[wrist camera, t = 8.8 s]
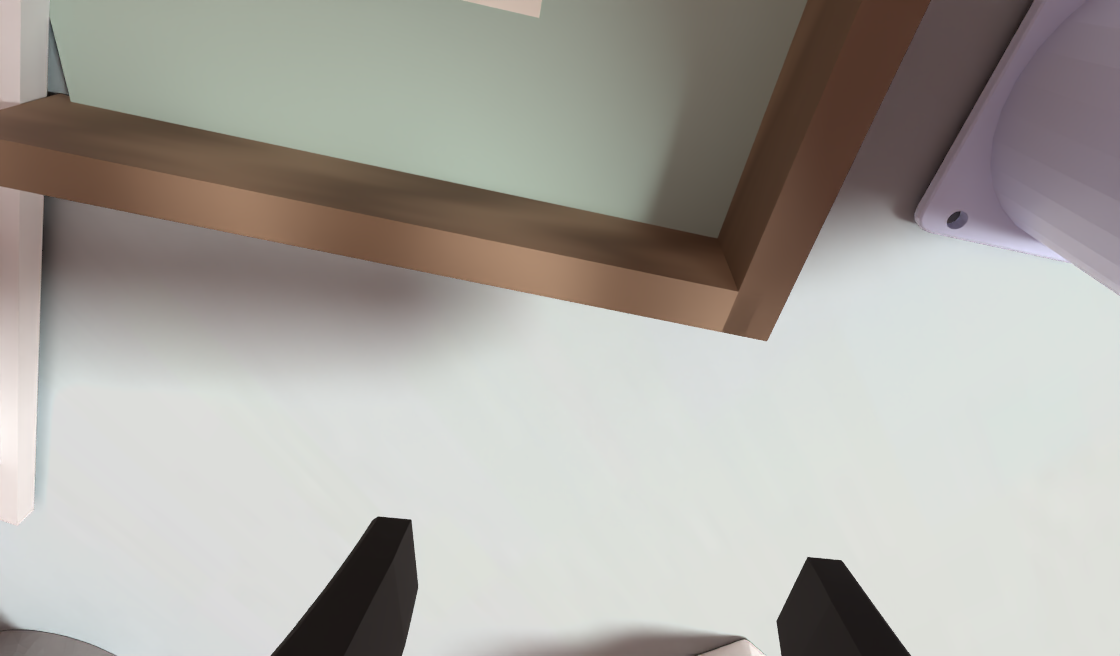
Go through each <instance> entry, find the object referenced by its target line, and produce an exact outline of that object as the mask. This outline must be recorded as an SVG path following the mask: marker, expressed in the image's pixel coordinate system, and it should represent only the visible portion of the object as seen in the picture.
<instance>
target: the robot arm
mask: <svg viewBox="0 0 1120 656" xmlns="http://www.w3.org/2000/svg"><path fill="white" fill-rule="evenodd" d="M957 211H961V213H960V216H959V217H958V218H957V220H956V221H954V222H952V223H947V220H948V218H949V217H950V216H951V214H953V213H955V212H957ZM914 216H915V221H916V223H917V224H918V225H919V226H920V227H921V228H922V229H923V230H925V231H927V232H929V233H934V234H939V235H943V236H948V237H952V238H957V239H962V240H966V241H971V242H975V243H980V244H985V245H989V246H994V247H998V248H1003V249H1008V250H1012V251H1017V252H1022V253H1026V254H1031V255H1035V256H1040V257H1045V258H1049V259H1054V260H1058V261H1063V262H1068V263H1072V264H1074V265H1075V266H1076V267H1078V268H1079V269H1081V270H1082V271H1084V272H1085V273H1087V274H1088V275H1090V276H1091V277H1093V278H1094V279H1096V280H1097V281H1099V282H1100V283H1102V284H1103V285H1105V286H1106V287H1108V288H1109V289H1111V290H1112V291H1114V292H1115V293H1116V294H1118V295H1119V296H1120V0H1034V2H1033V3H1032V5H1031V7H1030V9H1029V10H1028V12H1027V14H1026V16H1025V17H1024V19H1023V21H1022V23H1021V24H1020V26H1019V28H1018V30H1017V32H1016V33H1015V35H1014V37H1013V39H1012V40H1011V42H1010V44H1009V46H1008V47H1007V49H1006V51H1005V53H1004V55H1003V56H1002V58H1001V60H1000V62H999V63H998V65H997V67H996V69H995V70H994V72H993V74H992V76H991V77H990V79H989V81H988V83H987V85H986V86H985V88H984V90H983V92H982V93H981V95H980V97H979V99H978V100H977V102H976V104H975V106H974V108H973V109H972V111H971V113H970V115H969V116H968V118H967V120H966V122H965V123H964V125H963V127H962V129H961V130H960V132H959V134H958V136H957V138H956V139H955V141H954V143H953V145H952V146H951V148H950V150H949V152H948V153H947V155H946V157H945V159H944V160H943V162H942V164H941V166H940V168H939V169H938V171H937V173H936V175H935V176H934V178H933V180H932V182H931V183H930V185H929V187H928V189H927V191H926V192H925V194H924V196H923V198H922V199H921V201H920V203H919V205H918V206H917V208H916V211H915V214H914ZM417 590H418V580H417V570H416V560H415V551H414V541H413V531H412V521H411V520H409V519H398V518H388V517H377V518H375V519H374V520H372V522H371V524H370V525H369V527H368V528H367V530H366V531H365V533H364V534H363V536H362V537H361V539H360V540H359V542H358V543H357V544H356V546H355V547H354V549H353V550H352V552H351V553H350V555H349V556H348V557H347V559H346V560H345V562H344V563H343V564H342V566H341V567H340V568H339V570H338V571H337V573H336V574H335V575H334V577H333V578H332V579H331V581H330V582H329V583H328V585H327V586H326V587H325V589H324V590H323V591H322V593H321V594H320V595H319V596H318V598H317V599H316V600H315V602H314V603H313V604H312V605H311V607H310V608H309V609H308V611H307V612H306V613H305V614H304V616H303V617H302V618H301V619H300V621H299V622H298V623H297V625H296V626H295V627H294V628H293V630H292V631H291V632H290V633H289V634H288V636H287V637H286V638H285V639H284V641H283V642H282V643H281V644H280V645H279V646H278V648H277V649H276V650H275V651H274V652H273V653H272V655H271V656H402V653H403V650H404V647H405V643H406V639H407V635H408V630H409V626H410V622H411V617H412V613H413V608H414V604H415V599H416V595H417ZM777 628H778V635H779V641H780V648H781V655H782V656H911V655H910V654H909V652H908V651H907V650H906V648H905V647H904V646H903V644H902V643H901V642H900V640H899V639H898V637H897V636H896V635H895V633H894V632H893V631H892V629H891V628H890V627H889V625H888V624H887V622H886V621H885V620H884V618H883V617H882V616H881V614H880V613H879V611H878V610H877V609H876V607H875V606H874V604H873V603H872V602H871V600H870V599H869V597H868V596H867V595H866V593H865V592H864V590H863V589H862V588H861V586H860V585H859V584H858V582H857V581H856V579H855V578H854V577H853V575H852V574H851V572H850V571H849V570H848V568H847V567H846V566H845V564H844V563H843V562H842V560H832V559H822V558H811V557H807V559H806V561H805V563H804V566H803V568H802V570H801V572H800V574H799V576H798V578H797V580H796V582H795V584H794V586H793V588H792V590H791V592H790V594H789V597H788V599H787V601H786V603H785V605H784V607H783V609H782V611H781V613H780V615H779V617H778V619H777Z"/></svg>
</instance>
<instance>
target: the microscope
mask: <svg viewBox="0 0 1120 656" xmlns="http://www.w3.org/2000/svg"><path fill="white" fill-rule="evenodd" d="M49 11H50V0H0V110H1V109H5V108H8V107H12V106H16V105H19V104H23V103H27V102H30V101H34V100H38V99H41V98H45V97H47V75H48V43H49ZM43 203H44V195H41V194H36V193H31V192H26V191H21V190H16V189H11V188H6V187H1V186H0V520H2V521H5V522H8V523H11V524H14V525H16V526H18V525H19V524H20V523H21V522H22V521H23V520H24V519H25V518H26V517H27V516H28V515H29V514H30V513H31V512H32V511H33V510H34V491H35V459H36V427H37V395H38V363H39V331H40V299H41V267H42V235H43Z"/></svg>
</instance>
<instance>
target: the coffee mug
mask: <svg viewBox="0 0 1120 656" xmlns="http://www.w3.org/2000/svg"><path fill="white" fill-rule="evenodd" d="M0 656H115V655H113V654H111V653H109V652H107V651H104V650H102V649H100V648H98V647H96V646H94V645H91V644H88V643H85V642H82V641H79V640H76V639H72V638H69V637H65V636H62V635H57V634H51V633H46V632H40V631H29V630H8V631H1V632H0Z"/></svg>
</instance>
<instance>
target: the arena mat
mask: <svg viewBox="0 0 1120 656" xmlns="http://www.w3.org/2000/svg"><path fill="white" fill-rule="evenodd" d="M807 1H808V0H50V11H49V16H50V20H51V24H52V28H53V32H54V36H55V40H56V44H57V48H58V52H59V56H60V60H61V64H62V68H63V72H64V76H65V80H66V84H67V88H68V92H69V96H70V100H71V102H75V103H80V104H85V105H89V106H94V107H99V108H103V109H108V110H113V111H118V112H122V113H127V114H132V115H137V116H141V117H146V118H151V119H155V120H160V121H165V122H170V123H174V124H179V125H184V126H189V127H193V128H198V129H203V130H207V131H212V132H217V133H222V134H226V135H231V136H236V137H241V138H245V139H250V140H255V141H259V142H264V143H269V144H274V145H278V146H283V147H288V148H292V149H297V150H302V151H307V152H311V153H316V154H321V155H326V156H330V157H335V158H340V159H344V160H349V161H354V162H359V163H363V164H368V165H373V166H378V167H382V168H387V169H392V170H396V171H401V172H406V173H411V174H415V175H420V176H425V177H430V178H434V179H439V180H444V181H448V182H453V183H458V184H463V185H467V186H472V187H477V188H481V189H486V190H491V191H496V192H500V193H505V194H510V195H515V196H519V197H524V198H529V199H533V200H538V201H543V202H548V203H552V204H557V205H562V206H567V207H571V208H576V209H581V210H585V211H590V212H595V213H600V214H604V215H609V216H614V217H619V218H623V219H628V220H633V221H637V222H642V223H647V224H652V225H656V226H661V227H666V228H670V229H675V230H680V231H685V232H689V233H694V234H699V235H704V236H708V237H713V238H718V236H719V233H720V230H721V228H722V225H723V222H724V220H725V217H726V214H727V212H728V209H729V207H730V204H731V201H732V199H733V196H734V193H735V191H736V188H737V185H738V183H739V180H740V178H741V175H742V172H743V170H744V167H745V164H746V162H747V159H748V156H749V154H750V151H751V148H752V146H753V143H754V141H755V138H756V135H757V133H758V130H759V127H760V125H761V122H762V119H763V117H764V114H765V112H766V109H767V106H768V104H769V101H770V98H771V96H772V93H773V90H774V88H775V85H776V82H777V80H778V77H779V75H780V72H781V69H782V67H783V64H784V61H785V59H786V56H787V53H788V51H789V48H790V46H791V43H792V40H793V38H794V35H795V32H796V30H797V27H798V24H799V22H800V19H801V17H802V14H803V11H804V9H805V6H806V3H807Z"/></svg>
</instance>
